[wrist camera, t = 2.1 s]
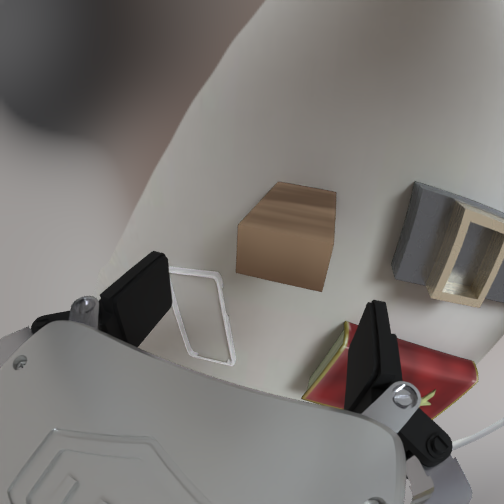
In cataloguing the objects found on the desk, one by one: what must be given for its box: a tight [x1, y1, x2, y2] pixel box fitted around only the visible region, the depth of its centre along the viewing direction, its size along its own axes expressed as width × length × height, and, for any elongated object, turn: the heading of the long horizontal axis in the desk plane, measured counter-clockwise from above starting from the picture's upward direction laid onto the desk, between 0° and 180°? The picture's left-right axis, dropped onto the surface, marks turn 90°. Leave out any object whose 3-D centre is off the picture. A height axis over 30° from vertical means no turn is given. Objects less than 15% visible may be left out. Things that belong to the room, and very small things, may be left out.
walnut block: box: [236, 182, 336, 292], centre depth 19 cm, size 4×5×10 cm
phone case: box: [169, 266, 236, 366], centre depth 33 cm, size 7×1×15 cm
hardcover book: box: [302, 321, 478, 420], centre depth 27 cm, size 12×21×4 cm, turn 76°
